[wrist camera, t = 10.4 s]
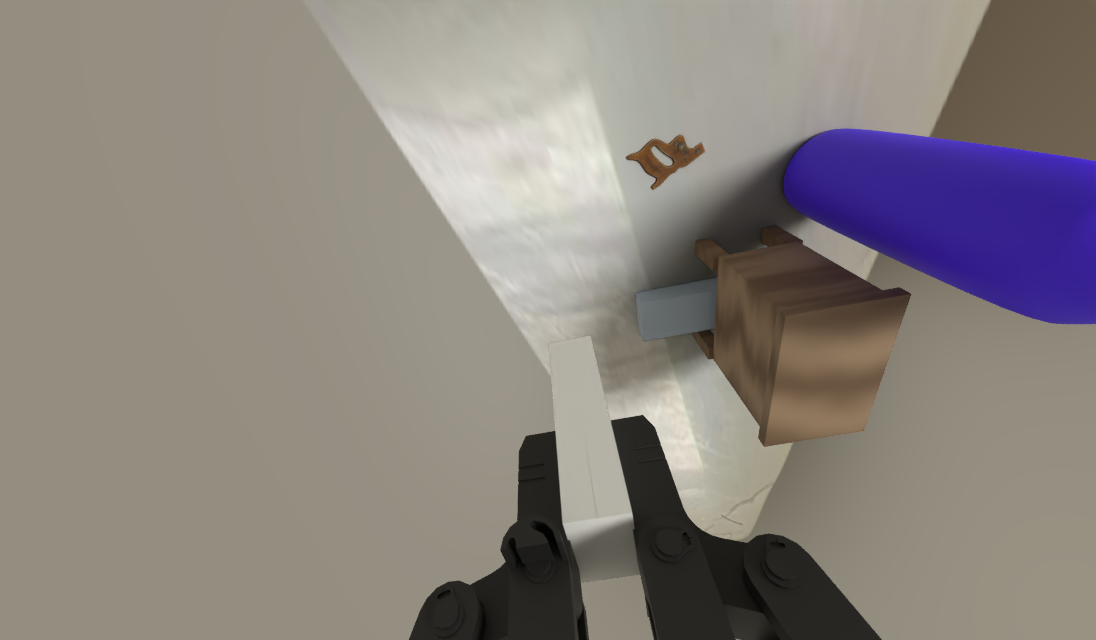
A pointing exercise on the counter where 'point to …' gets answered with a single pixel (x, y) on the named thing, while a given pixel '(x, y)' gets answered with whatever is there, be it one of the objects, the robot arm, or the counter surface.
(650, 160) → the saw handle
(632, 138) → the counter surface
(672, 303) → the batten
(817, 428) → the cabinet
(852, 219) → the bottle
